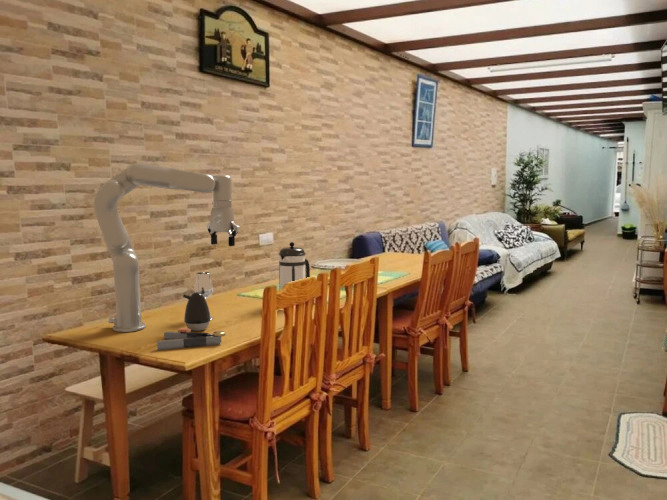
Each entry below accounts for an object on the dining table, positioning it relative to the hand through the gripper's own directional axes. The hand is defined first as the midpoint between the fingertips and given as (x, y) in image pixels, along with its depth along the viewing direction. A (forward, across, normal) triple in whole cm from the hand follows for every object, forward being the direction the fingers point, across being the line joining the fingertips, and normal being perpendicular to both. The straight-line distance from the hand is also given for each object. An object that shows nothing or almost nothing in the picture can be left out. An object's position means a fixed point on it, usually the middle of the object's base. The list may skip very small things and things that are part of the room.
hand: (222, 245), depth 242 cm
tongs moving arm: (+33, +16, -37) cm, 52 cm away
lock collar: (+32, +8, -30) cm, 45 cm away
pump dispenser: (+33, +2, -18) cm, 37 cm away
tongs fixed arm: (+32, +14, -31) cm, 47 cm away
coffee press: (+32, +9, +40) cm, 52 cm away
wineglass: (+32, -8, -3) cm, 34 cm away
